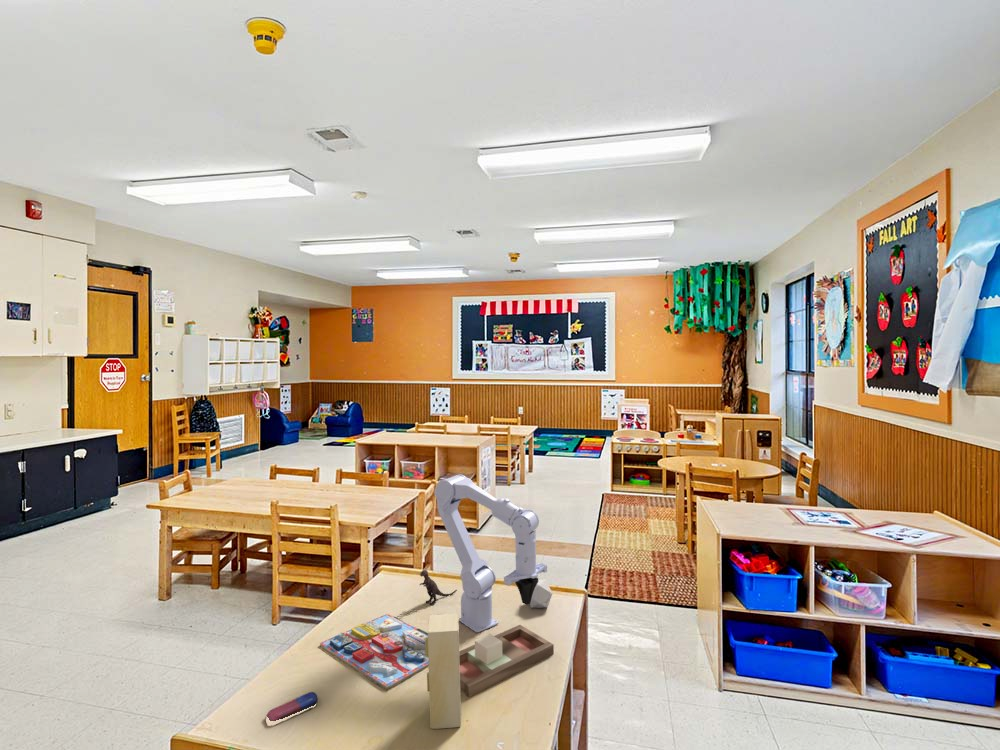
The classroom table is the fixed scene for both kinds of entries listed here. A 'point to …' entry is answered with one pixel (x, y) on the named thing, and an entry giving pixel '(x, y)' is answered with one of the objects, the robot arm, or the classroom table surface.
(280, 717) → the eraser
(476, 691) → the tray
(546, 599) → the die
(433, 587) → the dinosaur model
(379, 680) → the puzzle board
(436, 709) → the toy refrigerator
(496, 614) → the classroom table surface
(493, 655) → the block
